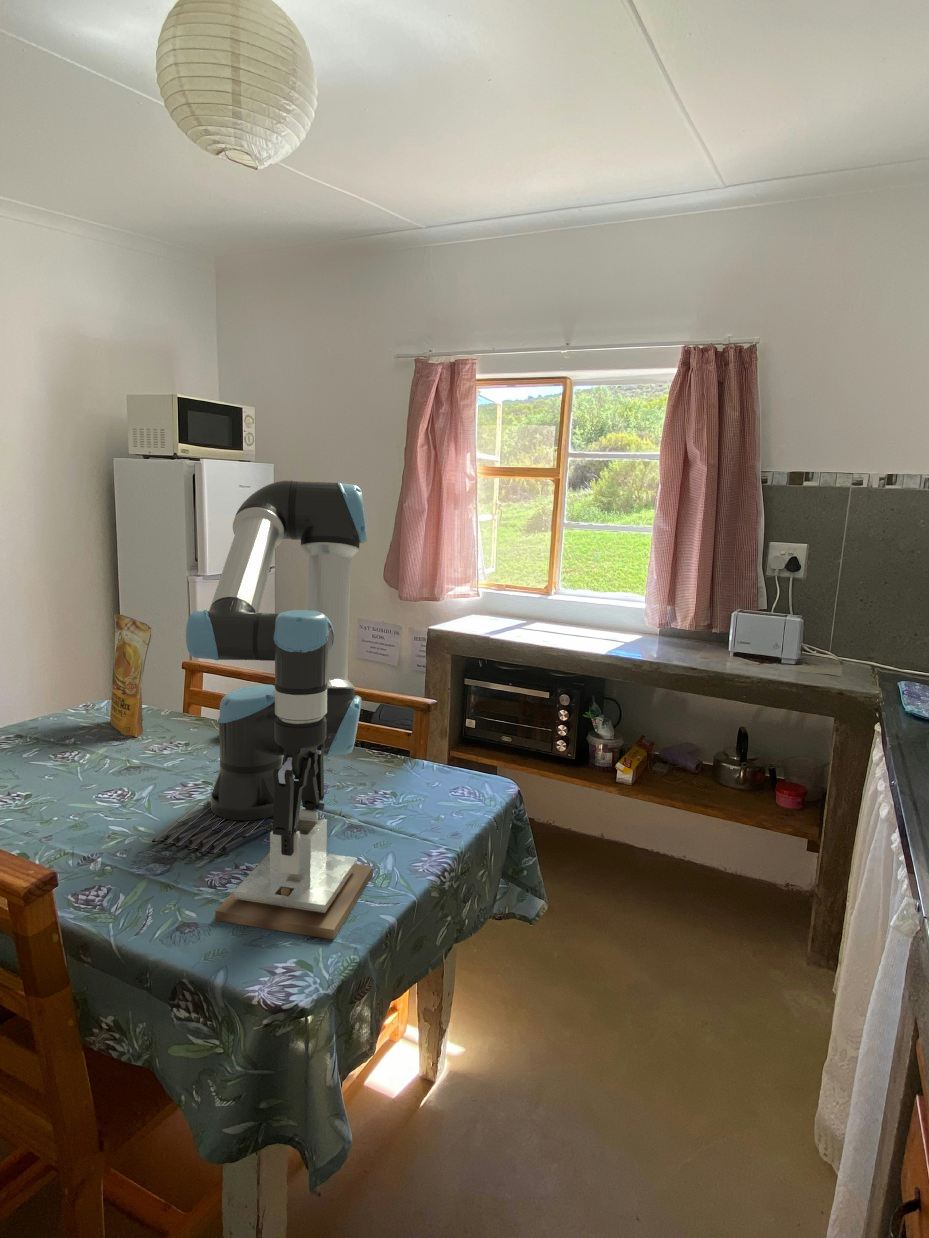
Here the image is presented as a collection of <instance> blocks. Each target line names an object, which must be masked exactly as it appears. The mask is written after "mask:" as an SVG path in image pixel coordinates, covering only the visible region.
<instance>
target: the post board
mask: <svg viewBox="0 0 929 1238" xmlns="http://www.w3.org/2000/svg"><path fill="white" fill-rule="evenodd" d="M266 857H267V855H265V857H263V858H262V860H261V861H260V862H259V863H258V864H257V866H258V865H259V864H260V863H261V862H262V861H263V860H264V859H265V858H266ZM252 872H253V870H252V871H250V873H249V874H248V875H247V876H246V877H245V879H246V878H247V877H248V876H249V875H250V874H251V873H252ZM373 873H374V866H373V865H366V864H360V863H357V866H356V867H355V869H354V870H353V872H352V873H351V875H350V876H349V878H348V879H347V881H346V882H345V884H344V885H343V887H342V888H341V890H340V891H339V893H338V894H337V896H336V897H335V899H334V900H333V902H332V903H331V905H330V906H329V908H328V909H327V911H326V912H325V913H322V912H315V911H309V910H303V909H296V908H290V907H284V906H277V905H271V904H265V903H258V902H252V901H246V900H239V899H234V891H235V890H236V889H237V888H238V887H239V885H238V886H237V887H235V889H234V890H233V891H232V892H231V893H230V894H229V895H228V897H226V899H225V900H223V902H222V903H221V904H220V905H219V906H218V907H217V909H215V913H214V915H215V917H214V918H215V919H214V920H215V921H218V922H225V923H228V924H229V923H230V924H237V925H242V926H249V927H255V928H259V929H260V928H261V929H265V930H266V929H267V930H274V931H279V932H285V933H291V934H298V935H304V936H309V937H310V936H311V937H315V938H316V937H317V938H323V939H329V940H335V938H336V936H337V934H338V933H339V932H340V929H341V928H342V927H343V925H344V923H345V922H346V919H348V916H349V915H350V913H351V911H352V910H353V908H354V907H355V905H356V903H357V901H358V900H359V899H360V897H361V895H362V894H363V892H364V890H365V889H366V887H367V885H368V883H369V881H370V880H371V878H372V877H373V875H374V874H373ZM245 879H243V881H244V880H245ZM280 895H283V896H289V895H290V889H289V888H287V887H285V888H282V889H281V894H280Z"/></svg>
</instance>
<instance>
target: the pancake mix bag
mask: <svg viewBox="0 0 929 1238" xmlns="http://www.w3.org/2000/svg"><path fill="white" fill-rule="evenodd" d="M113 619H114V645H113V650H114V651H113V654H114V655H113V667H112V681H111V682H112V684H111V686H112V687H111V697H110V698H111V699H110V700H111V703H110V714H109V716H110V719H109V720H110V724H111V726H112V727H113V728H114V729H115V730H116V731H119V733H120V734H121V735H123V736H125V737H134V738H138V737H140V736H142V735H143V733H144V732H143V731H144V730H143V720H144V719H143V697H142V694H143V693H142V682H143V681H142V680H143V676H144V671H145V665H146V659H147V654H148V649H149V646H150V643H151V639H152V635H153V628H152V627H150V626H149V624H148V623H145V622H143V621H140V620H137V619H136V618H132V617H130V616H126V615H124V614H119V613H117V614H114V615H113Z"/></svg>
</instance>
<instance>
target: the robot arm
mask: <svg viewBox="0 0 929 1238" xmlns="http://www.w3.org/2000/svg"><path fill="white" fill-rule="evenodd" d="M364 507H365V506H364V498H363V492H362V489H361V488H360V487H359V486H358V485H356V484H350V483H341V482H339V481H337V482H328V481H327V482H326V481H325V482H323V481H322V482H320V481H319V482H318V481H298V480H296V481H295V480H281V481H280V480H279V481H275V482H272V483H270V484H267V485H265V486H263V487H261V488H260V489H258V490H256V491H255V492H254V493H252V494H251V495H249V496H248V497H247V499H246V500H244V502H242V504H241V505H240V507H239V508H238V509H237V511H236V513H235V517H234V518H233V521H232V532H233V535H234V537H233V538H232V542H231V545H230V548H229V550H228V551H229V552H228V554H227V555H226V556H227V557H226V560H225V563H224V566H223V569H222V570H221V571H222V572H221V574H220V577H219V580H218V584H217V585H216V586H217V587H216V589H215V591H214V595H213V597H212V601H211V604H210V607H209V610H207V609H204V610H199V611H197V610H196V611H193V612H192V613H191V614H190V615H189V616H188V619H187V622H186V627H185V645H186V649H187V651H188V654H189V655H190V656H191V657H192V658H196V659H203V660H214V661H266V662H268V661H269V662H274V685H273V684H258V685H257V684H256V685H251V686H245V687H241V688H238V689H235V690H232V691H230V692H229V693H227V694H226V695H224V696H223V697H222V699H221V700H220V703H219V714H218V715H219V717H218V719H217V721H218V724H219V725H218V727H219V729H218V730H219V737H218V738H219V770H218V773H217V776H216V779H215V783H214V786H213V788H212V791H211V795H210V810H211V811H212V813H213V814H215V815H217V817H218V816H219V817H220V818H223V819H228V820H233V821H255V820H256V821H257V820H262V819H266V818H270V817H272V831H273V834H274V835H280V872H283V873H289V874H296V875H298V873H299V853H300V831H297V826H298V818H299V816H300V817H308V818H315V819H319V810H321V811H323V810H324V808H325V803H324V802H320V801H324V799H325V781H324V779H325V777H324V776H325V775H324V773H325V772H324V770H325V769H324V766H325V765H324V757H326V758H329V757H333V756H334V757H335V756H337V757H338V756H347V755H349V754H350V753H352V751H353V750H354V747H355V742H356V737H357V732H358V728H359V727H358V726H359V720H360V719H359V718H360V714H361V707H362V700H363V699H362V697H361V696H359V695H357V694H355V686H354V685H353V683H352V682H351V681H350V680H349V679H348V667H349V635H350V634H349V633H350V610H351V609H350V608H351V607H350V605H351V582H352V581H351V578H352V577H351V575H352V559H353V558H354V557H355V556H356V555H358V554H359V553H360V544H364V543H366V542H367V527H366V526H367V525H366V519H365V516H366V515H365V509H364ZM284 540H296V541H300V550H301V551H302V552H303V553H304V554H305V555H306V557H307V568H306V569H307V571H306V573H307V574H306V593H305V594H306V595H305V597H306V598H305V609H292V610H287V611H282V612H280V613H278V612H277V613H272V612H270V613H268V612H264V613H263V612H260V608H261V604H262V600H263V596H264V593H265V589H266V585H267V581H268V577H269V572H270V569H271V565H272V562H273V558H274V553H275V550H276V548H277V547H278V546H279V545H280V544H281V543H282V542H283V541H284ZM301 806H302V809H301Z"/></svg>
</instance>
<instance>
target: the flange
mask: <svg viewBox="0 0 929 1238" xmlns="http://www.w3.org/2000/svg"><path fill="white" fill-rule="evenodd" d="M327 826H328V819H322V818H318V819H315V818H308V817H300V815H299V818H298V826H297V831H300V853H299V873H298V875H296V874H289V873H283V872H280V835H274V834H273V830H272V831H271V832H269V852H268V853H267V854H266V856H267V857H266V856H265V857H266V858H265V857H264V858H265V859H264V858H263V859H264V860H263V859H262V860H263V861H262V860H261V861H262V862H261V861H260V862H261V863H260V862H259V863H260V864H259V863H258V864H259V865H258V864H257V866H255V868H253V870H252V871H253V872H252V871H251V872H252V873H251V872H250V873H251V874H250V873H249V874H250V875H249V874H248V875H249V876H248V875H247V876H248V877H247V876H246V877H247V878H246V877H245V878H246V879H245V880H244V879H243V880H242V882H241V883H240V884H239V885H238V886H239V887H238V886H237V887H238V888H237V887H236V888H237V889H236V888H235V889H236V890H235V889H234V890H235V891H234V890H233V891H234V899H239V900H246V901H252V902H258V903H265V904H271V905H277V906H284V907H290V908H296V909H303V910H309V911H315V912H322V913H325V912H326V911H327V909H328V908H329V906H330V905H331V903H332V902H333V900H334V899H335V897H336V896H337V894H338V893H339V891H340V890H341V888H342V887H343V885H344V884H345V882H346V881H347V879H348V878H349V876H350V875H351V873H352V872H353V870H354V869H355V867H356V866H357V864H358V857H353V856H347V855H346V856H345V855H340V854H332V853H327V845H328V844H327V843H328V841H327V836H328V835H327V834H328V832H327V830H328V829H327V828H328V827H327ZM285 887H287V888H289V889H290V895H289V896H283V895H280V894H281V889H282V888H285Z"/></svg>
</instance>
